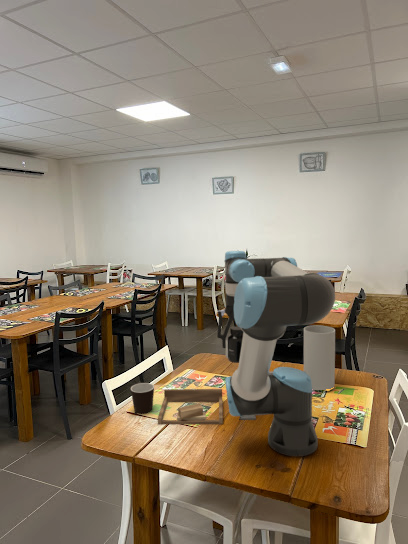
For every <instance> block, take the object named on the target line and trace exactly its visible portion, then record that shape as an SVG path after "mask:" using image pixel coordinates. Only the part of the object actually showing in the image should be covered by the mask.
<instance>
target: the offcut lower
mask: <svg viewBox="0 0 408 544" xmlns="http://www.w3.org/2000/svg"><path fill="white" fill-rule="evenodd" d="M206 417H207V414H206V412H204V411H203V415H200V416H196V417H191V418H187V419H183V420H207V418H206ZM176 420H182V419H181V418H180V417H179V415H178V414H177V416H176Z"/></svg>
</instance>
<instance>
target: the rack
mask: <svg viewBox="0 0 408 544" xmlns="http://www.w3.org/2000/svg"><path fill="white" fill-rule="evenodd" d="M163 391H164V395H163V396H164V397H163V401H162V404H161V406H160V410H159V413H158V416H157V425H224V423H223V422H224V421H223V388H191V389H190V388H189V389H187V388H186V389H184V388H183V389H182V388H181V389H180V388H177V389H175V388H174V389H170V388H169V389H167V388H166V389H165V388H164V390H163ZM168 403H218V419H206V420H177V419H176V420H175V419H173V420H172V419H171V420H169V419H166V420H164V417H165V414H166V409H167V406H168Z"/></svg>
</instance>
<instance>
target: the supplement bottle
mask: <svg viewBox="0 0 408 544" xmlns="http://www.w3.org/2000/svg"><path fill="white" fill-rule="evenodd" d="M243 333H244V332H243V331H242V329H241V327H238V326H230V328H229V335H227V338H228V358H227V360H228V362H230V363H233V364H239V360H240V353H241V346H242V340H243Z"/></svg>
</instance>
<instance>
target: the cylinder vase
mask: <svg viewBox="0 0 408 544" xmlns="http://www.w3.org/2000/svg"><path fill="white" fill-rule="evenodd" d="M335 361H336V329H335V328H334V327H331V326H325V325H315V324H314V325H307V326H305V327H304V328H303V371H304V372H305V373H307V374H308V375H309V376H310V378H311V380H312V389H313V390H326V389H331V388H333V387H334V388H335V377H336V376H335V375H336V372H335V371H336V369H335V367H336V365H335V364H336V363H335Z"/></svg>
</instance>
